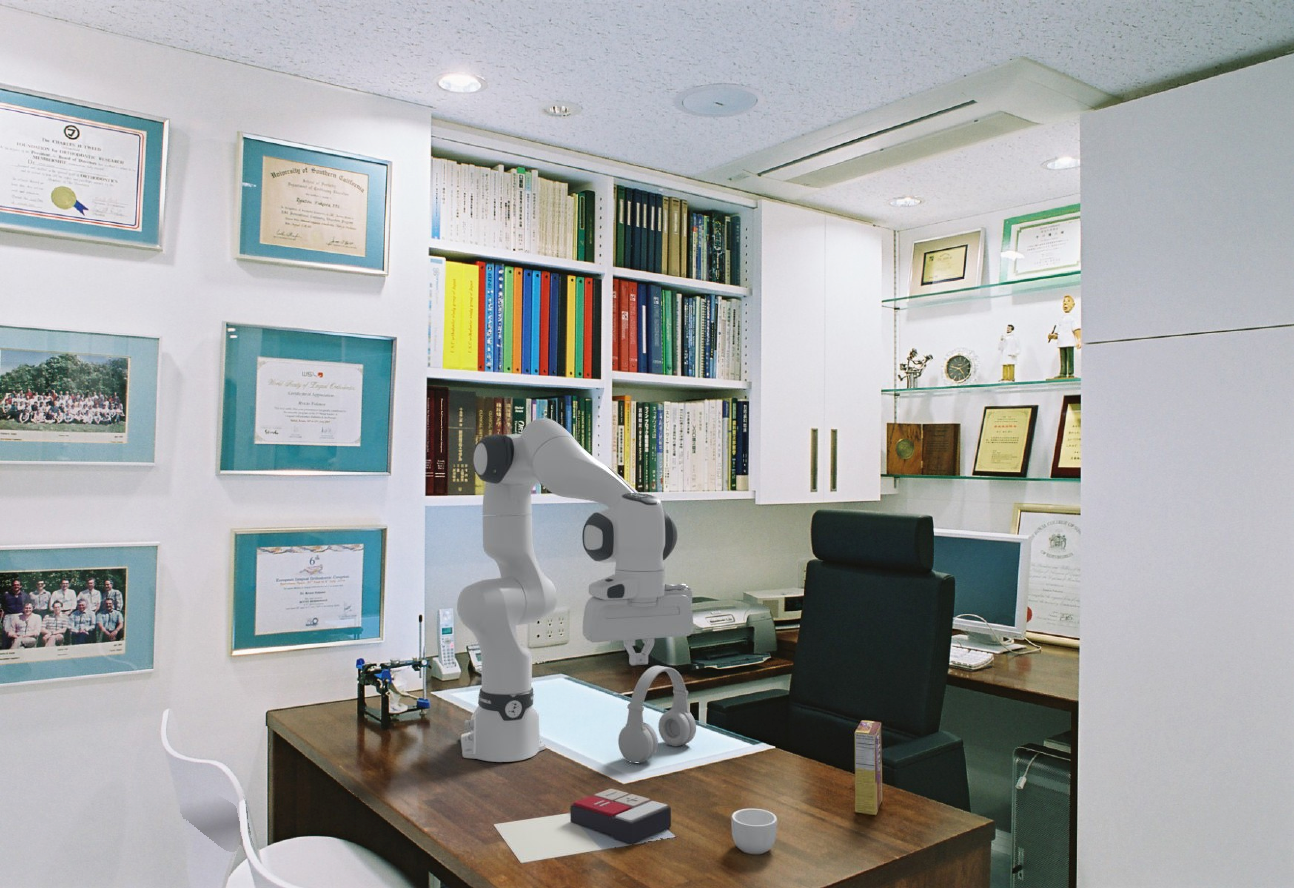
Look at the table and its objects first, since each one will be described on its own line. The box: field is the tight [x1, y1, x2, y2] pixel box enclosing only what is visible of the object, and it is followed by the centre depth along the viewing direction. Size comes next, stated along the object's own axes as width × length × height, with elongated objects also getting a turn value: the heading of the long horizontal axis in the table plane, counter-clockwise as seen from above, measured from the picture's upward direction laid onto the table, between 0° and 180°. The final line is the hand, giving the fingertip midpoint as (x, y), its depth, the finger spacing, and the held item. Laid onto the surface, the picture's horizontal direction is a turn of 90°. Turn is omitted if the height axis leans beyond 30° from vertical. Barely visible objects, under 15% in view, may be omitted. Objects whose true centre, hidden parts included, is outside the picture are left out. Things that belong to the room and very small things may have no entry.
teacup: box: [730, 808, 778, 855], centre depth 156 cm, size 10×8×5 cm
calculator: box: [569, 788, 672, 845], centre depth 164 cm, size 11×4×15 cm
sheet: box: [493, 812, 676, 864], centre depth 161 cm, size 17×28×1 cm, turn 115°
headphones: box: [617, 665, 697, 763], centre depth 206 cm, size 20×8×19 cm, turn 144°
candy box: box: [854, 720, 883, 816], centre depth 176 cm, size 9×4×15 cm, turn 158°
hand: (638, 664), depth 161 cm, fingers closed
